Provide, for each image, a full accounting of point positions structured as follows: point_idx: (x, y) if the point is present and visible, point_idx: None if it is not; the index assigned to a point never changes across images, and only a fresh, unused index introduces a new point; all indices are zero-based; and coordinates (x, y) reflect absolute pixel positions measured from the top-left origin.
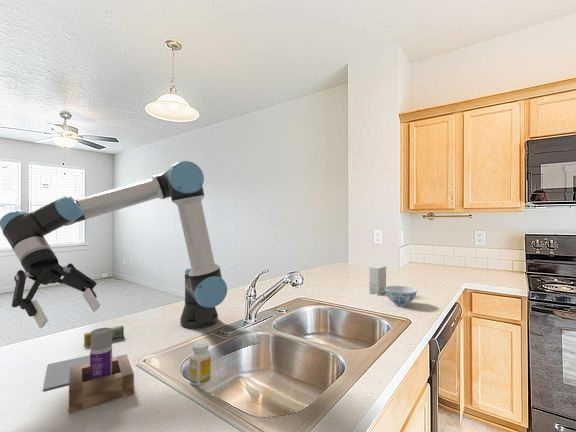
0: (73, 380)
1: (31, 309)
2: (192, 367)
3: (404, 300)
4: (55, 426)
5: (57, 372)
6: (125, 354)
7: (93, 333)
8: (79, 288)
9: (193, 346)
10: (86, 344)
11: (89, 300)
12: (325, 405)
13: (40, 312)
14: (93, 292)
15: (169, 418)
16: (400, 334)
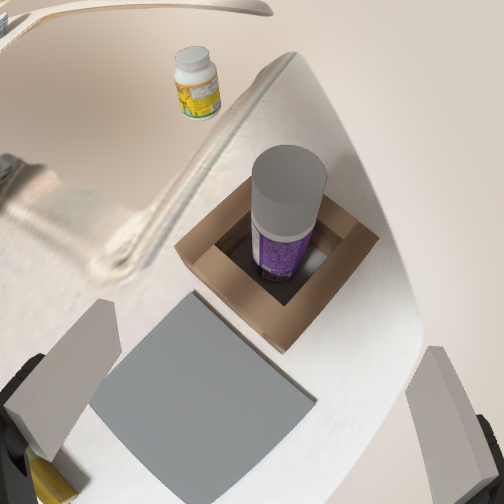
0: (343, 269)
1: (488, 435)
2: (216, 86)
3: (5, 24)
4: (395, 248)
5: (232, 450)
6: (176, 248)
7: (322, 179)
8: (29, 493)
9: (202, 58)
10: (73, 492)
11: (81, 383)
12: (236, 11)
13: (462, 390)
14: (16, 382)
15: (312, 104)
16: (78, 9)
